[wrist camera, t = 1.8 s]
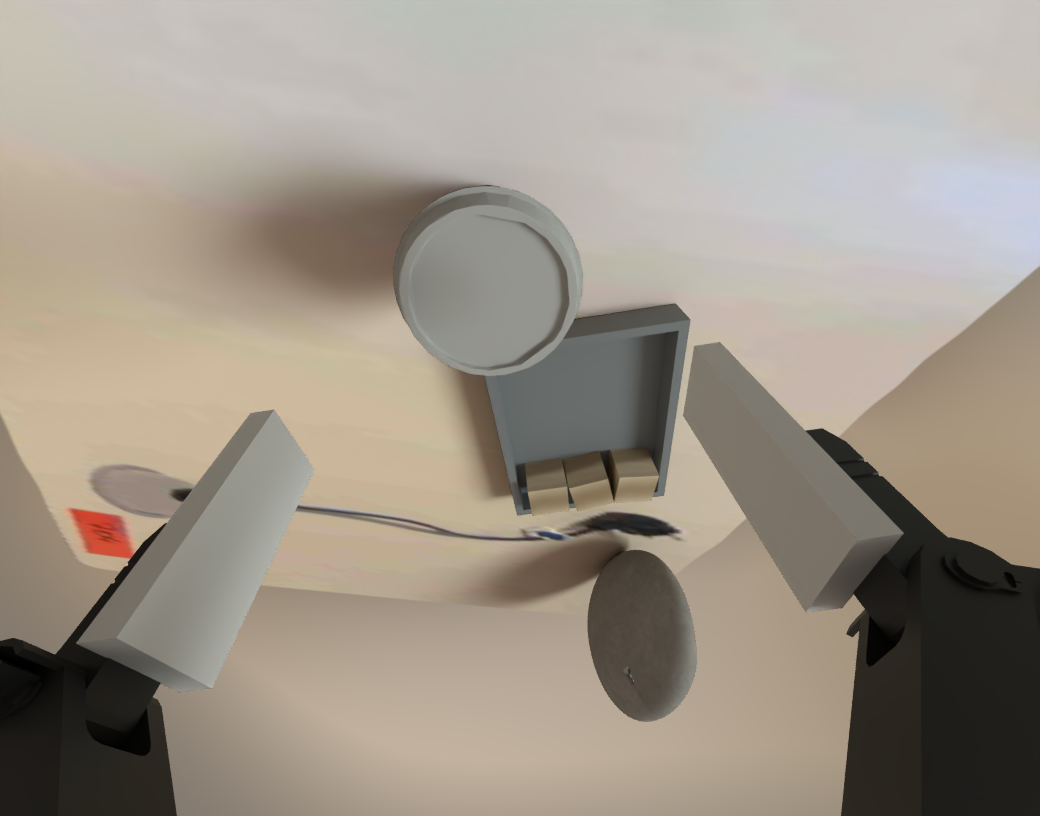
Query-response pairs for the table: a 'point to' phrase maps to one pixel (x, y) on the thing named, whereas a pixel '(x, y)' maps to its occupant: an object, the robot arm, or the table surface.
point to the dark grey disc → (641, 636)
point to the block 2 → (588, 481)
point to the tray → (594, 395)
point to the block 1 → (547, 486)
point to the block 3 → (631, 475)
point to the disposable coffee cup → (488, 280)
